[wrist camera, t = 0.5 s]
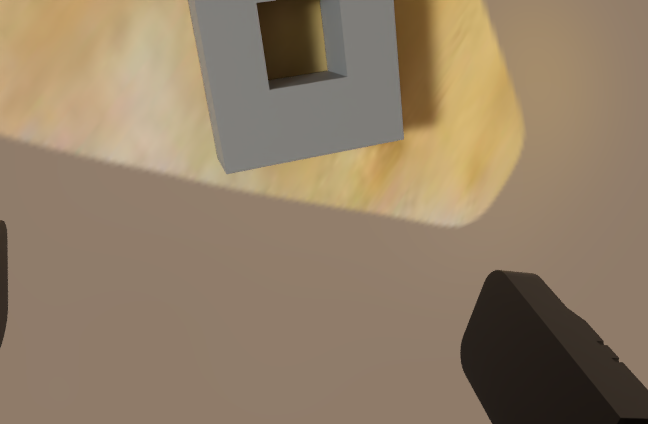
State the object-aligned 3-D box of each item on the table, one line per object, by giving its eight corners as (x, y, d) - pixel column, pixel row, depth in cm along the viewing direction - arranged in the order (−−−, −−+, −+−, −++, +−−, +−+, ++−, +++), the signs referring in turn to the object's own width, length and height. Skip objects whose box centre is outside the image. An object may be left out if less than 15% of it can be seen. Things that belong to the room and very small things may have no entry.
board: (174, -71, 30) (179, -81, 27) (361, -90, 33) (386, -101, 29) (218, 159, 34) (226, 174, 31) (380, 127, 37) (403, 139, 34)
